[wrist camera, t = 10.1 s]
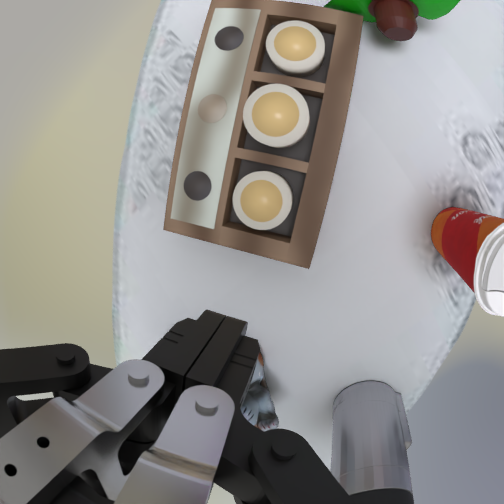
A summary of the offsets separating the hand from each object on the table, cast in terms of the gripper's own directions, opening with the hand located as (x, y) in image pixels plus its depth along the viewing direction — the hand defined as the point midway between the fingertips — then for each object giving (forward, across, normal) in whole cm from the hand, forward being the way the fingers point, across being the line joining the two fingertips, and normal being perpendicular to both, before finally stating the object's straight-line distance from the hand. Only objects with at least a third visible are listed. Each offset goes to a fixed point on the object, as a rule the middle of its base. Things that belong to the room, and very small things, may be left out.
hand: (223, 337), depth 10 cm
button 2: (+22, +3, -2) cm, 22 cm away
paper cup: (+23, -18, -4) cm, 30 cm away
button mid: (+19, +3, -10) cm, 22 cm away
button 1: (+22, +3, -18) cm, 28 cm away
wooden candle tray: (+22, +5, -10) cm, 25 cm away
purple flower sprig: (+22, -2, -39) cm, 45 cm away
